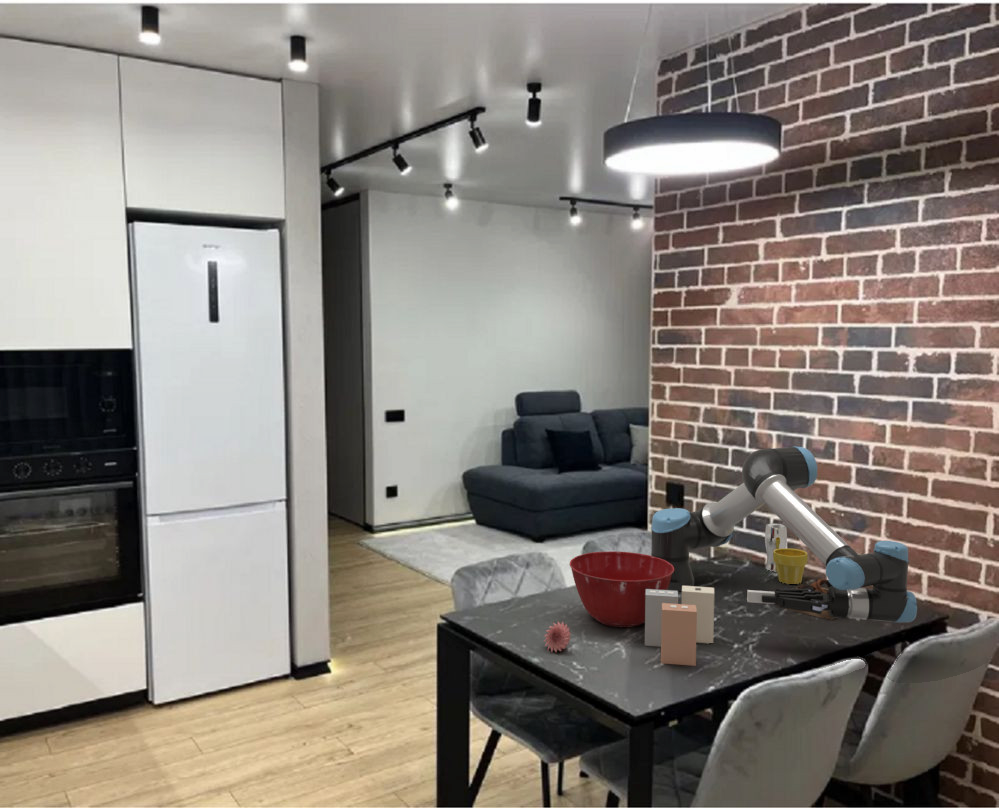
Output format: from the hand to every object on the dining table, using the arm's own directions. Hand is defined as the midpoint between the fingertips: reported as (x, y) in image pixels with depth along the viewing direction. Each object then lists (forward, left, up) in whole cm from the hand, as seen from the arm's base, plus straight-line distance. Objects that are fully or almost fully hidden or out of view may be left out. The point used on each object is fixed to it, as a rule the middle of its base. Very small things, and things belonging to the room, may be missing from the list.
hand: (747, 596), depth 204 cm
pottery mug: (-1, +44, -12) cm, 45 cm away
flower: (-30, -38, -12) cm, 50 cm away
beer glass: (-27, +68, -12) cm, 74 cm away
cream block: (-10, -7, -12) cm, 17 cm away
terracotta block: (-6, -22, -12) cm, 26 cm away
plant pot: (-17, +58, -12) cm, 62 cm away
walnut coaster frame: (0, +41, -12) cm, 43 cm away
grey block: (-15, -16, -12) cm, 25 cm away
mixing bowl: (-33, -9, -12) cm, 36 cm away
